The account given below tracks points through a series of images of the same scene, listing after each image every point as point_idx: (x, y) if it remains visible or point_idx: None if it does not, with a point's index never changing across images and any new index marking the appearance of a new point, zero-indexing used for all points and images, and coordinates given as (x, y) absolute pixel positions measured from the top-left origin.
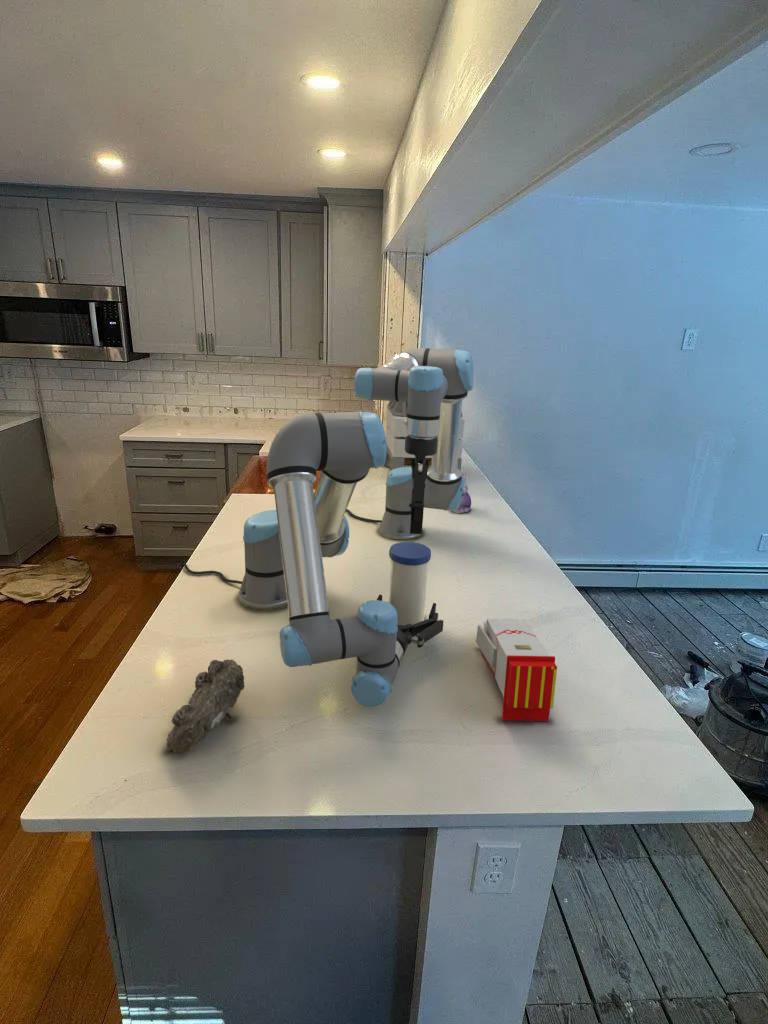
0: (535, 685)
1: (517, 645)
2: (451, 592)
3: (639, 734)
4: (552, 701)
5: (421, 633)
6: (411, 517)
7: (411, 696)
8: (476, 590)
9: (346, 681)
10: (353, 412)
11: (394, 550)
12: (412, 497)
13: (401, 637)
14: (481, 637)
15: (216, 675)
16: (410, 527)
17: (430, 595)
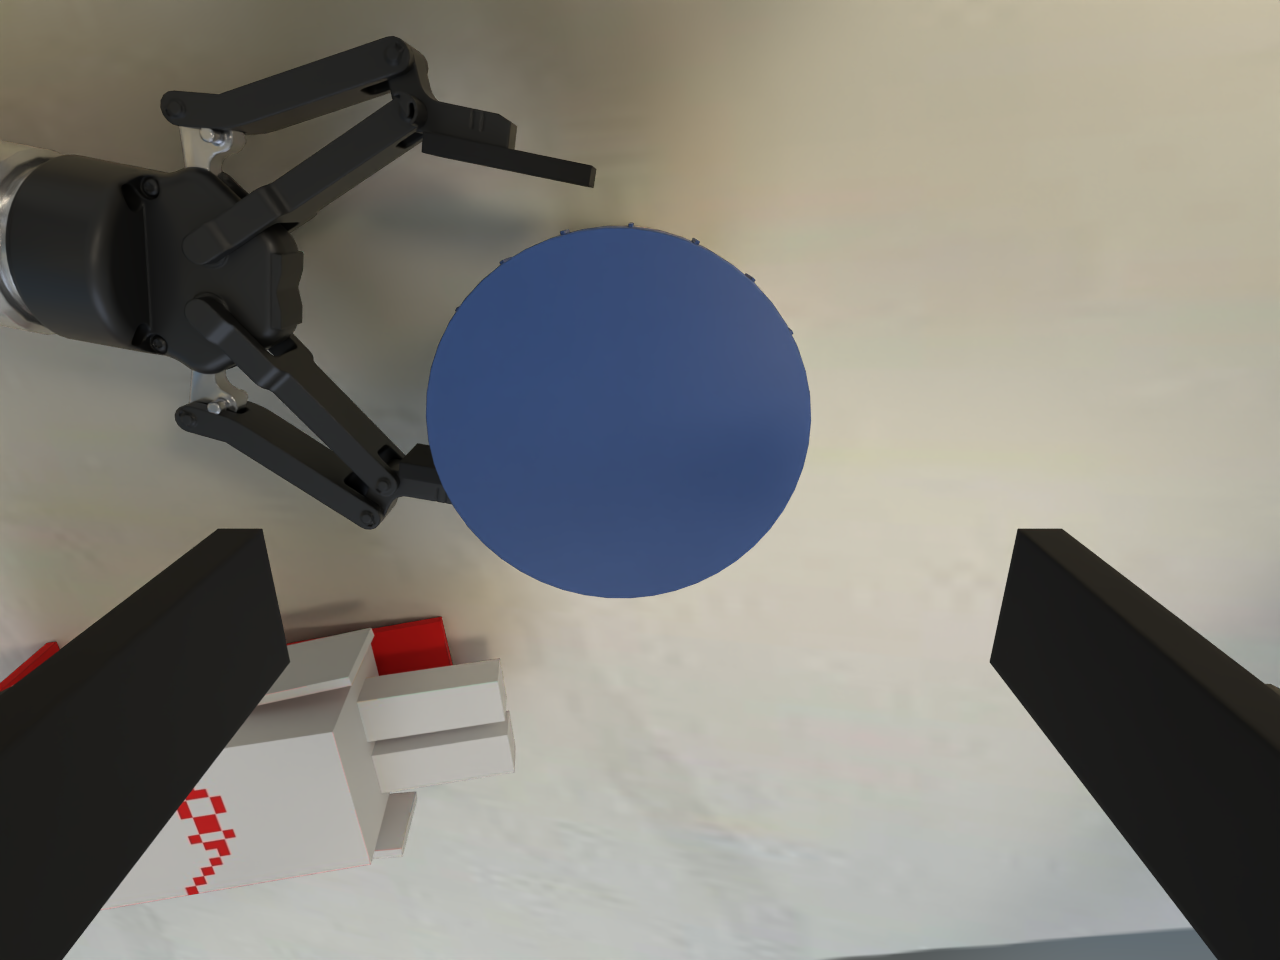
0: None
1: None
2: (915, 540)
3: (143, 935)
4: None
5: (222, 423)
6: (33, 676)
7: (56, 354)
8: (935, 646)
9: (41, 54)
10: None
11: (576, 279)
12: (1200, 703)
13: (68, 328)
14: (296, 671)
15: None
16: (167, 571)
17: (883, 441)
